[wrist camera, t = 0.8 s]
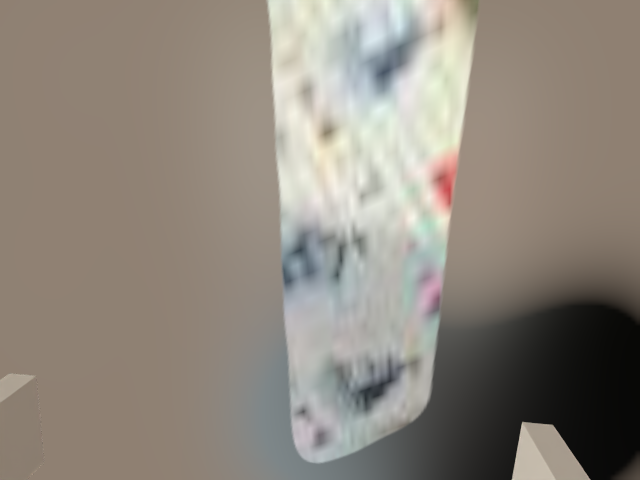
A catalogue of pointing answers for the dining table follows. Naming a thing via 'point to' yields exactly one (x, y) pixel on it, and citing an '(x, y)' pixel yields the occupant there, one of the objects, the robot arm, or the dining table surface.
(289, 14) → the dining table surface
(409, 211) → the dining table surface
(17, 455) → the robot arm
